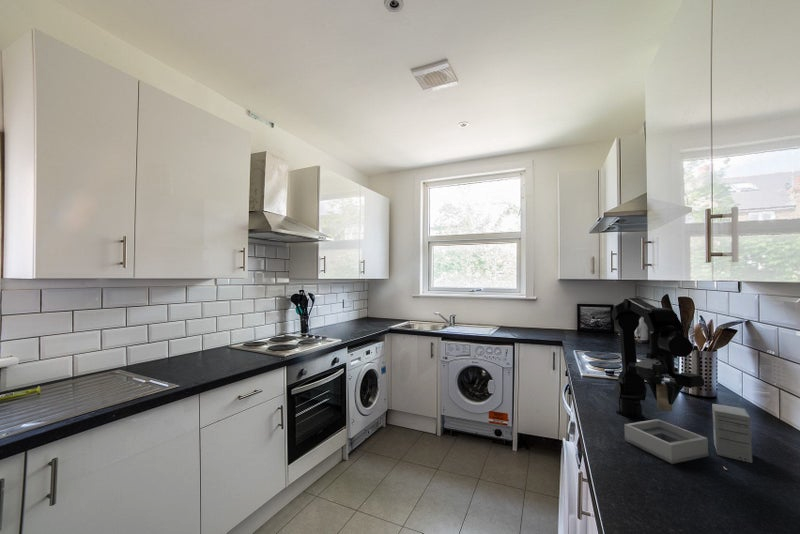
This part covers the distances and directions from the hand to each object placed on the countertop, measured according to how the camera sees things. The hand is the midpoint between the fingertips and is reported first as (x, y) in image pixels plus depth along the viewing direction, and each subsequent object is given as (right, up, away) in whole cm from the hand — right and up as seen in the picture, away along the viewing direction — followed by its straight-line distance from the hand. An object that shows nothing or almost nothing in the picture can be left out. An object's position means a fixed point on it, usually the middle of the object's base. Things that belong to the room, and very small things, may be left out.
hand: (664, 402), depth 101 cm
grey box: (-1, -13, -1) cm, 13 cm away
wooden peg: (0, -2, 0) cm, 2 cm away
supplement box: (+16, -13, -5) cm, 21 cm away
